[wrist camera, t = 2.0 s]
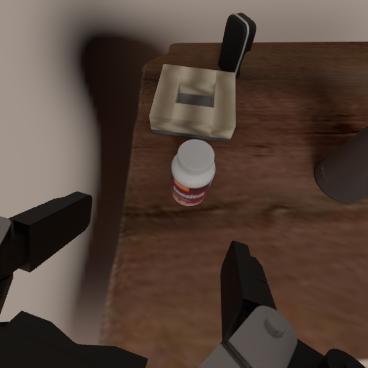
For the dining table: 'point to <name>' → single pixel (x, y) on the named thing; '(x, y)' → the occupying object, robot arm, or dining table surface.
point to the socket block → (194, 103)
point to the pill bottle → (192, 172)
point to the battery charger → (236, 42)
